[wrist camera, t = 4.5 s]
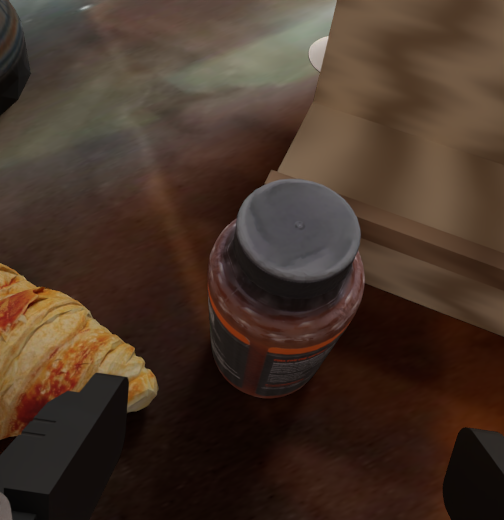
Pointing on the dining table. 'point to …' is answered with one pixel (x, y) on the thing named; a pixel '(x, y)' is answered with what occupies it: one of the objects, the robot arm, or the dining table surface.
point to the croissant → (56, 352)
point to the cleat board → (416, 147)
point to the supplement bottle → (283, 286)
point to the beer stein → (11, 56)
